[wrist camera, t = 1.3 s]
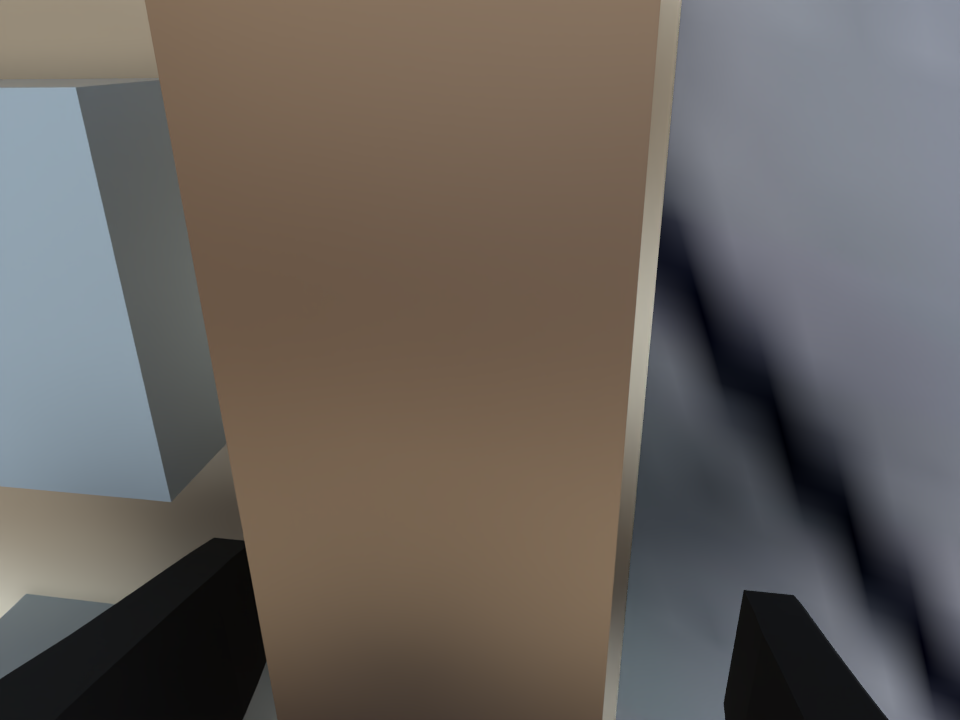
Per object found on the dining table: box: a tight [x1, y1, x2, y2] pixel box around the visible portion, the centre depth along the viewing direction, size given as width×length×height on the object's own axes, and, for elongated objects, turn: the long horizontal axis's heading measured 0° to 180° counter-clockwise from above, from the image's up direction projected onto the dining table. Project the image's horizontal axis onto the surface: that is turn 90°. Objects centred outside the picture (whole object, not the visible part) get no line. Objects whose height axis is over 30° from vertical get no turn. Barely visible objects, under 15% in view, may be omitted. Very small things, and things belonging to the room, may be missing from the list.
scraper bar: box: [145, 0, 661, 720], centre depth 9 cm, size 16×3×4 cm, turn 1°
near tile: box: [0, 78, 226, 502], centre depth 9 cm, size 5×5×2 cm
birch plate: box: [0, 0, 682, 720], centre depth 13 cm, size 20×13×3 cm, turn 1°
